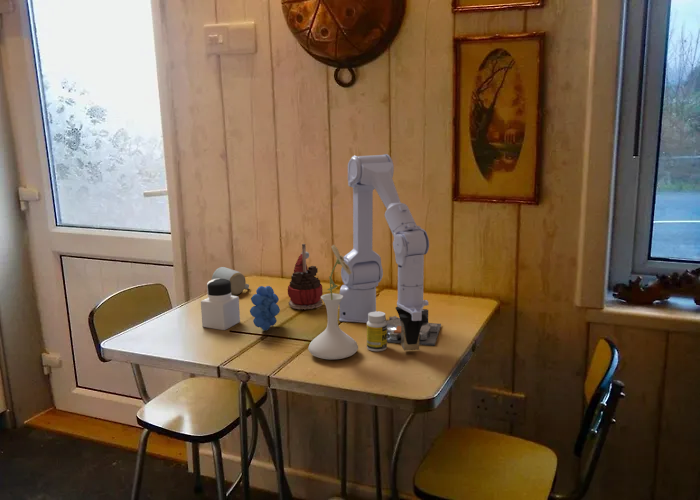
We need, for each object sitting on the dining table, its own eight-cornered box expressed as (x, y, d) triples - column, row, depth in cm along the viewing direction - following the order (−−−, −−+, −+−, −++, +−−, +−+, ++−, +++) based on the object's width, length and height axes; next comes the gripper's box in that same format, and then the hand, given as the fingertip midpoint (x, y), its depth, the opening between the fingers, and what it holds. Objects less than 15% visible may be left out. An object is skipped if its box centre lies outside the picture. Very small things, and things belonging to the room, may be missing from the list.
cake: (308, 314, 177) (306, 249, 173) (281, 309, 182) (278, 246, 178) (330, 303, 186) (328, 242, 182) (303, 298, 191) (301, 238, 187)
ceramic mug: (230, 298, 192) (229, 273, 191) (211, 294, 197) (210, 269, 195) (255, 290, 201) (254, 266, 199) (237, 286, 205) (236, 262, 204)
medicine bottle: (240, 322, 172) (238, 278, 169) (224, 330, 165) (221, 285, 163) (218, 318, 175) (215, 275, 172) (201, 327, 168) (198, 282, 166)
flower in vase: (353, 365, 142) (352, 254, 137) (303, 362, 144) (299, 253, 139) (363, 343, 155) (361, 241, 149) (316, 341, 157) (313, 240, 151)
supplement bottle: (385, 352, 149) (385, 317, 148) (365, 351, 150) (364, 316, 148) (388, 344, 154) (388, 311, 152) (368, 343, 155) (368, 310, 153)
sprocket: (399, 344, 152) (399, 326, 151) (369, 326, 164) (369, 309, 163) (447, 334, 158) (447, 317, 157) (414, 317, 170) (414, 301, 169)
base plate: (372, 341, 156) (372, 338, 156) (383, 322, 170) (383, 319, 170) (434, 345, 153) (434, 343, 153) (441, 325, 166) (441, 323, 166)
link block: (404, 350, 147) (404, 324, 146) (401, 344, 151) (401, 319, 149) (419, 349, 148) (419, 323, 146) (416, 344, 151) (416, 318, 150)
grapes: (268, 340, 158) (266, 293, 156) (245, 336, 161) (242, 290, 158) (292, 325, 169) (290, 280, 166) (269, 321, 171) (267, 277, 169)
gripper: (435, 291, 139) (434, 351, 142) (421, 274, 153) (420, 328, 156) (403, 293, 138) (402, 353, 141) (391, 275, 152) (391, 330, 155)
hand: (410, 340), depth 149 cm, fingers closed on link block, 3 cm apart
